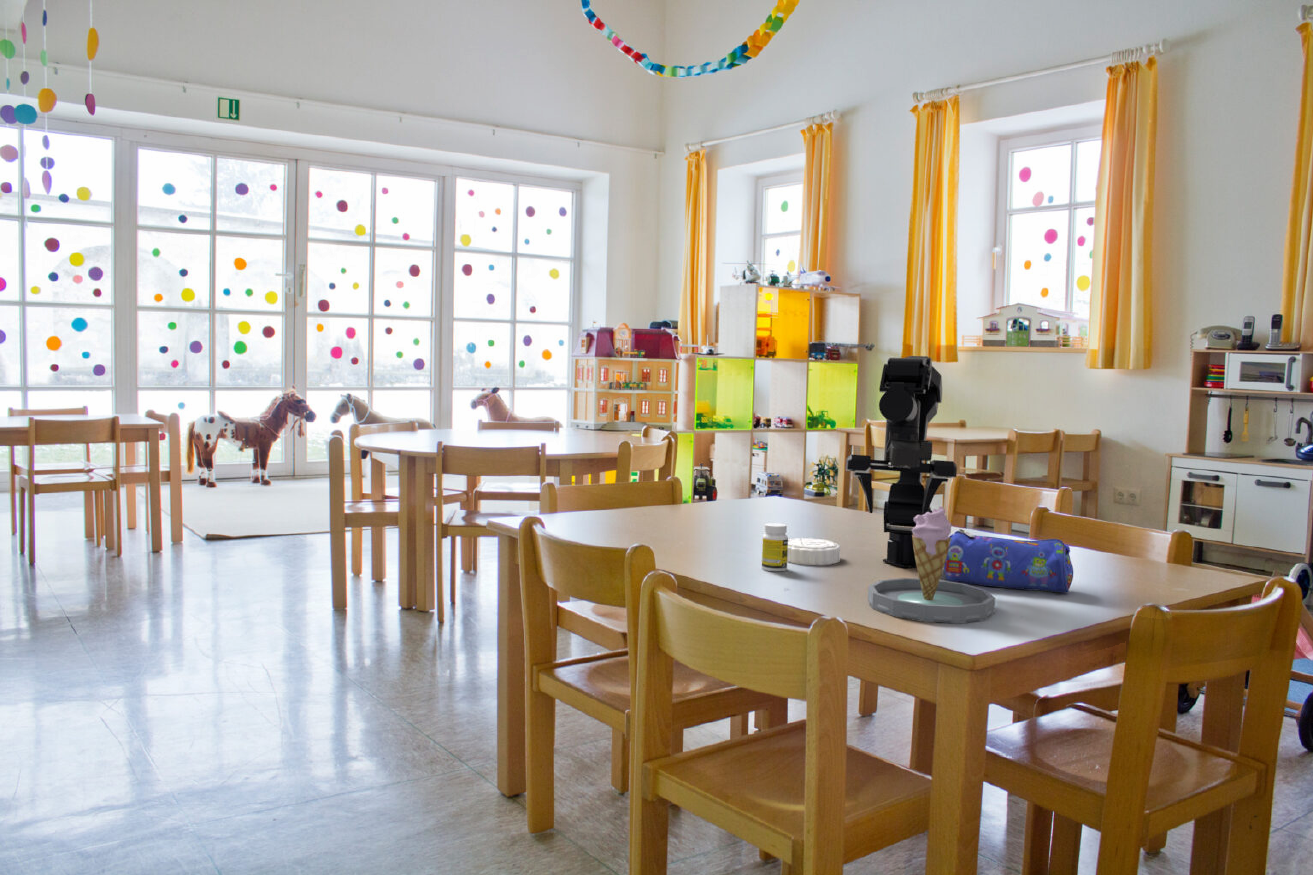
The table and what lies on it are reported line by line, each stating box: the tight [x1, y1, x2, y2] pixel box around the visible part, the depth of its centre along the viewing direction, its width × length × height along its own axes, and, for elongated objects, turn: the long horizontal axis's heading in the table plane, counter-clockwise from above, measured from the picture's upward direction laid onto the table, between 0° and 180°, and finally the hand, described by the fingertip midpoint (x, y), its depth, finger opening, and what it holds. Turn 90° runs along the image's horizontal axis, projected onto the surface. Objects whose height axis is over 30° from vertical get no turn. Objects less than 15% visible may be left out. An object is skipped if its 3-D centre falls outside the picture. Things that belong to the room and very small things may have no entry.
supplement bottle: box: [761, 522, 789, 572], centre depth 180 cm, size 5×5×8 cm
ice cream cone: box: [912, 505, 952, 600], centre depth 154 cm, size 7×6×15 cm
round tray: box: [867, 577, 996, 624], centre depth 154 cm, size 19×19×2 cm
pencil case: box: [943, 528, 1074, 594], centre depth 170 cm, size 22×9×10 cm, turn 65°
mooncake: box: [787, 537, 841, 566], centre depth 191 cm, size 12×12×4 cm
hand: (897, 515), depth 171 cm, fingers open, 9 cm apart
